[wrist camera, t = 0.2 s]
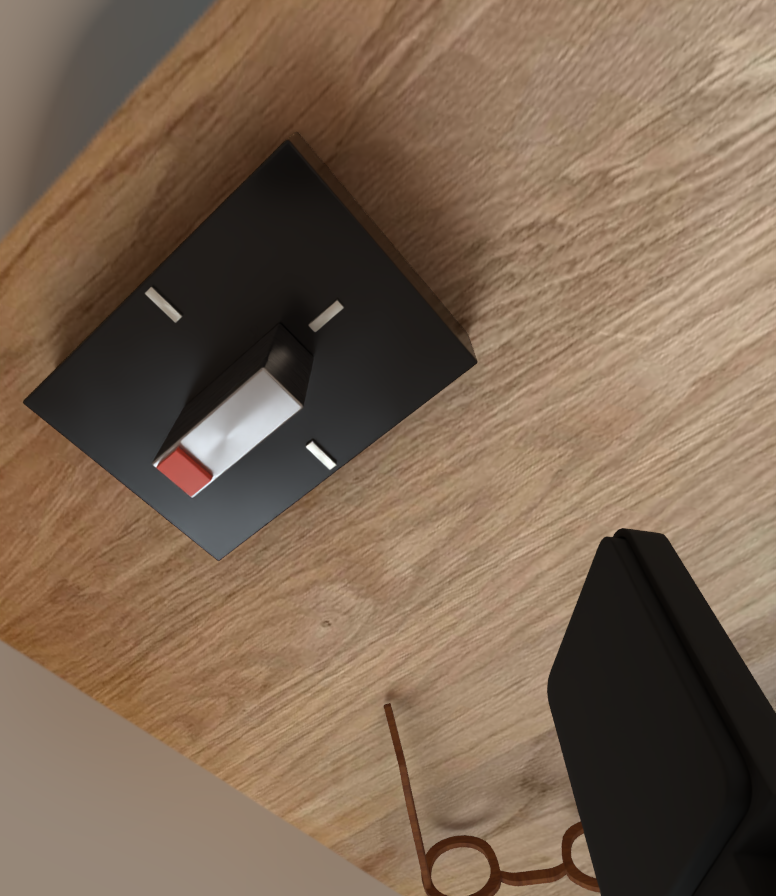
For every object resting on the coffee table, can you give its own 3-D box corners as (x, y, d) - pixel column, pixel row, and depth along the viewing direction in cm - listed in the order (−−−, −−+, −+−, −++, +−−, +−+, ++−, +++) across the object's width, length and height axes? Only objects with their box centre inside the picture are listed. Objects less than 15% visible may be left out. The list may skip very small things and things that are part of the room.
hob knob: (280, 322, 25) (261, 370, 21) (315, 357, 25) (303, 411, 21) (182, 408, 26) (147, 468, 22) (217, 440, 27) (190, 503, 23)
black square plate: (297, 130, 24) (286, 138, 22) (469, 335, 28) (479, 364, 25) (53, 372, 29) (19, 404, 26) (231, 522, 32) (217, 564, 30)
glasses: (420, 838, 44) (425, 923, 40) (382, 699, 38) (383, 780, 34) (628, 812, 43) (656, 896, 39) (623, 664, 37) (655, 744, 33)
